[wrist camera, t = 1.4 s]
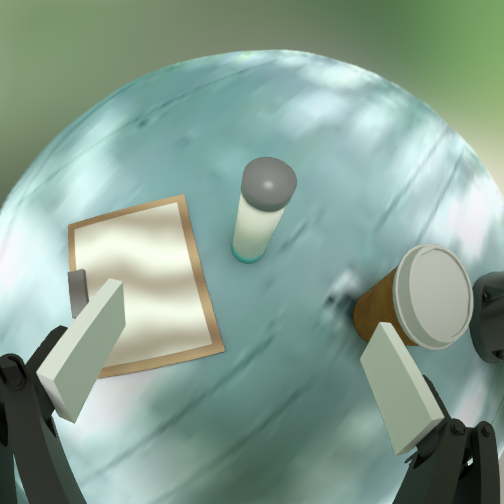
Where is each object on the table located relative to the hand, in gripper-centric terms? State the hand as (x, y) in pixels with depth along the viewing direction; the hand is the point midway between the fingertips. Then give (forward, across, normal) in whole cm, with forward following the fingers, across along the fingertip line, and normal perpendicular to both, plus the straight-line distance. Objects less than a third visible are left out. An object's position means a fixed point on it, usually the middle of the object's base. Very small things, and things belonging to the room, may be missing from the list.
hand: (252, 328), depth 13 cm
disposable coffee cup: (+14, +16, -7) cm, 23 cm away
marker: (+18, 0, -3) cm, 18 cm away
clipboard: (+14, -11, -8) cm, 19 cm away
